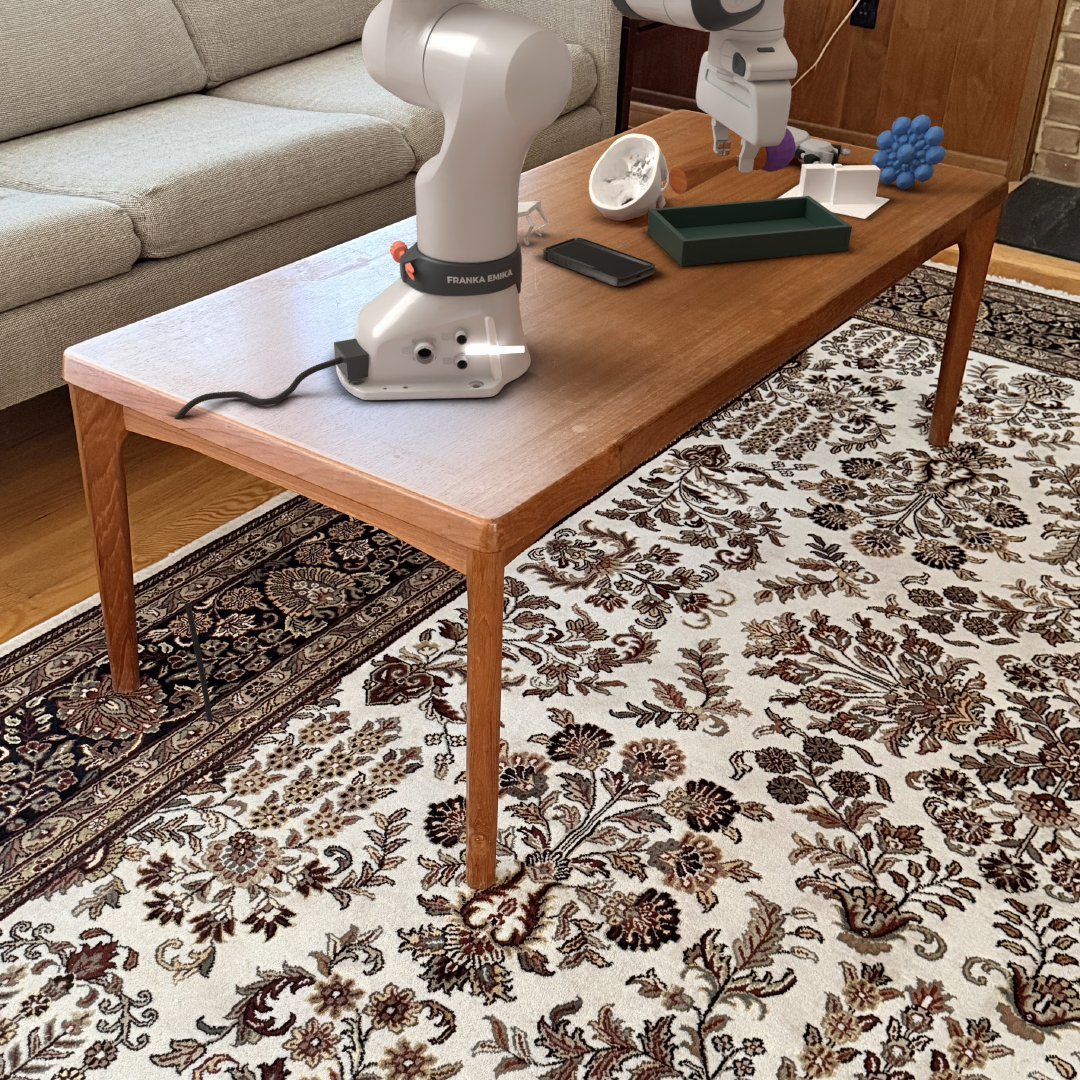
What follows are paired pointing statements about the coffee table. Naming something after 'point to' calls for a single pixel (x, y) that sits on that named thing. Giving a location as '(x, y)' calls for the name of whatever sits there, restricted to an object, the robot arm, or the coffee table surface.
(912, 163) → the blue beaded flower
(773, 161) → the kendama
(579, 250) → the phone
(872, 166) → the napkin holder
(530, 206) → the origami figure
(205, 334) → the coffee table surface
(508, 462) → the coffee table surface
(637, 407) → the coffee table surface
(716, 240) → the tray
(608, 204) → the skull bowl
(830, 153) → the robot toy
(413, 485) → the coffee table surface
